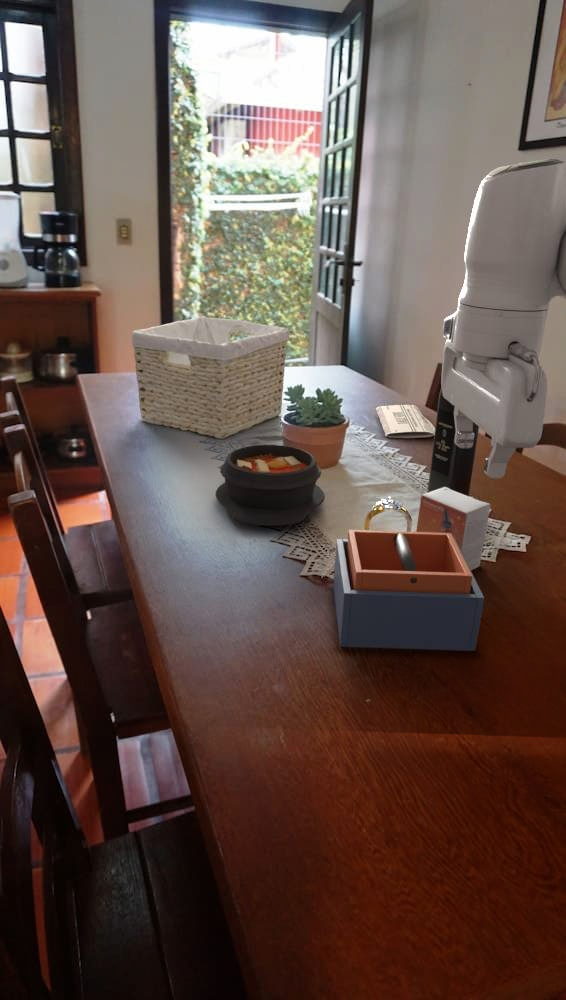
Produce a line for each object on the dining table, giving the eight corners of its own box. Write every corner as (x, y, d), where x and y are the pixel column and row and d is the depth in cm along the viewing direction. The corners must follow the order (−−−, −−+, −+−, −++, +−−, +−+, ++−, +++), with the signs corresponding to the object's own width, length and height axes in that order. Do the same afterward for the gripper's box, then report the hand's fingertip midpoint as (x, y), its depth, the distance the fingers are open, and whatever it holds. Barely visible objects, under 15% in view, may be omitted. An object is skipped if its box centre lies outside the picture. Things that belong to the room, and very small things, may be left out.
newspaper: (441, 440, 153) (441, 429, 152) (386, 443, 153) (386, 433, 152) (424, 411, 174) (424, 402, 172) (375, 414, 174) (375, 405, 173)
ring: (410, 547, 104) (416, 498, 101) (407, 556, 101) (413, 506, 98) (365, 539, 106) (369, 492, 103) (361, 548, 103) (365, 499, 100)
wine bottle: (446, 512, 116) (471, 333, 104) (423, 500, 121) (444, 328, 109) (470, 505, 119) (496, 331, 107) (446, 494, 124) (469, 325, 112)
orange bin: (442, 593, 90) (451, 532, 86) (461, 643, 80) (472, 576, 76) (343, 590, 90) (348, 529, 86) (350, 640, 79) (356, 572, 76)
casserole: (325, 539, 105) (328, 488, 102) (205, 533, 106) (204, 483, 102) (323, 479, 128) (325, 437, 125) (224, 475, 129) (224, 433, 125)
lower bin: (449, 594, 91) (457, 542, 88) (474, 656, 79) (484, 597, 76) (332, 590, 91) (336, 538, 88) (339, 651, 79) (344, 593, 76)
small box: (411, 560, 100) (419, 494, 96) (435, 549, 103) (444, 485, 99) (456, 582, 94) (466, 513, 90) (480, 570, 98) (491, 503, 94)
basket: (224, 445, 145) (224, 341, 136) (130, 422, 158) (124, 326, 149) (290, 416, 166) (293, 325, 158) (202, 398, 179) (201, 313, 170)
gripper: (575, 355, 61) (546, 496, 67) (490, 319, 80) (473, 432, 85) (508, 353, 61) (483, 496, 66) (438, 318, 79) (424, 432, 85)
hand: (477, 460), depth 76 cm, fingers open, 8 cm apart
